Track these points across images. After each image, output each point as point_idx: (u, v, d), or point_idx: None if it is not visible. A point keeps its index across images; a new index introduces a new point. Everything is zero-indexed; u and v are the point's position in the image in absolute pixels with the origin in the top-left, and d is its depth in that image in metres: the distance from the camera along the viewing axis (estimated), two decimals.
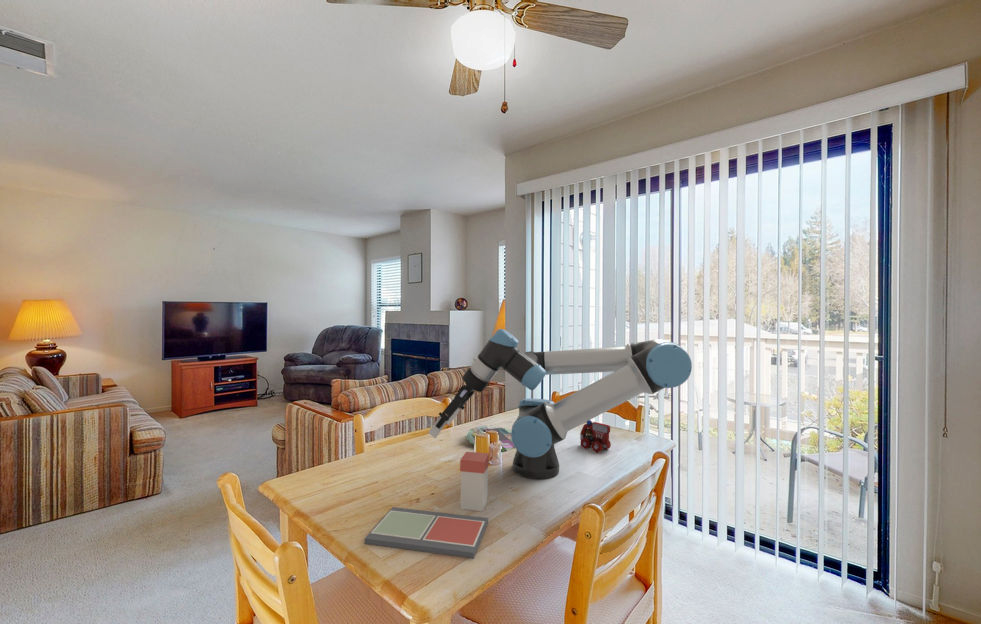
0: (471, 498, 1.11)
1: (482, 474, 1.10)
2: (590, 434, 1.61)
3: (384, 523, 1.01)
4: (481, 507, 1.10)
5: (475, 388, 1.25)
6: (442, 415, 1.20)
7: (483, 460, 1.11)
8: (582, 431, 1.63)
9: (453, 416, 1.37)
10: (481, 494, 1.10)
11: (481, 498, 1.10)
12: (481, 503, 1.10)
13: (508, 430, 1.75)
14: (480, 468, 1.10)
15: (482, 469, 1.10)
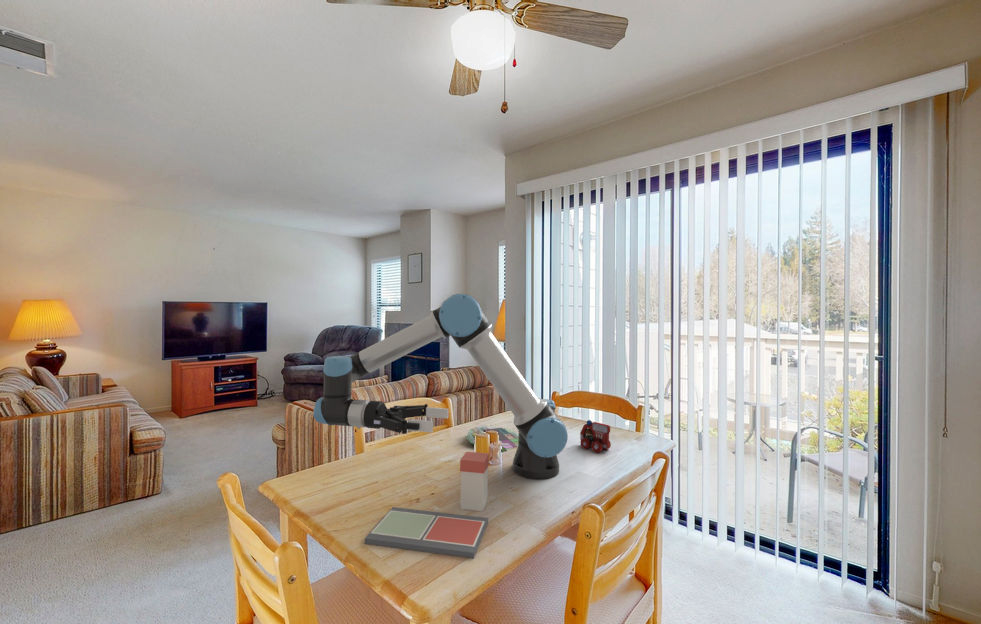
0: (471, 498, 1.11)
1: (482, 474, 1.10)
2: (590, 434, 1.61)
3: (384, 523, 1.01)
4: (481, 507, 1.10)
5: (373, 411, 1.16)
6: (398, 430, 1.07)
7: (483, 460, 1.11)
8: (582, 431, 1.63)
9: (436, 410, 1.22)
10: (481, 494, 1.10)
11: (481, 498, 1.10)
12: (481, 503, 1.10)
13: (508, 430, 1.75)
14: (480, 468, 1.10)
15: (482, 469, 1.10)
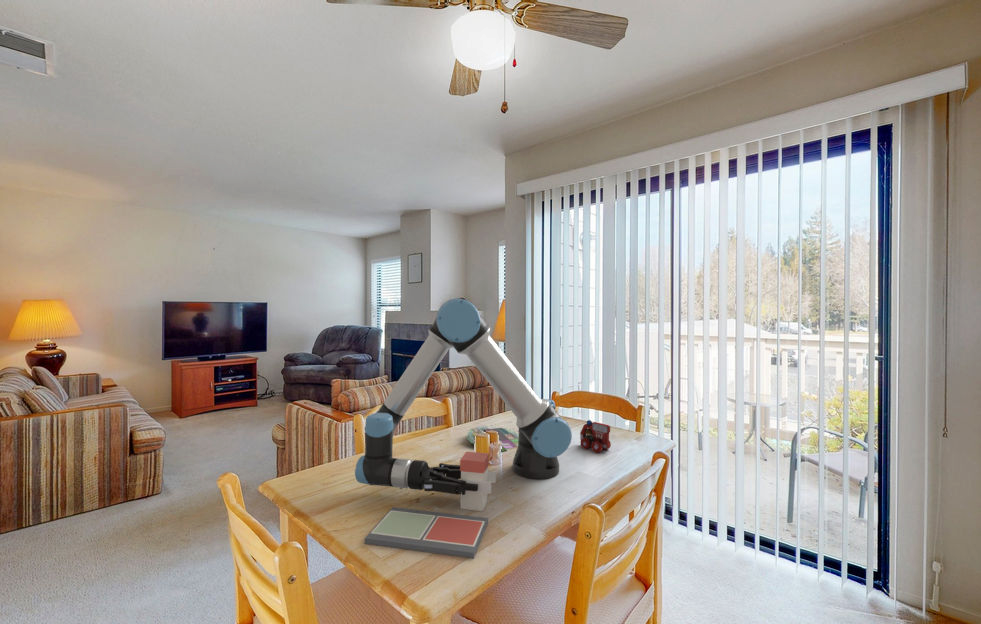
0: (471, 497, 1.11)
1: (482, 474, 1.10)
2: (590, 434, 1.61)
3: (384, 523, 1.01)
4: (481, 507, 1.10)
5: (417, 473, 1.13)
6: (458, 492, 1.08)
7: (483, 460, 1.11)
8: (582, 431, 1.63)
9: None
10: (481, 494, 1.10)
11: (481, 498, 1.10)
12: (481, 503, 1.10)
13: (508, 430, 1.75)
14: (480, 468, 1.10)
15: (482, 469, 1.10)
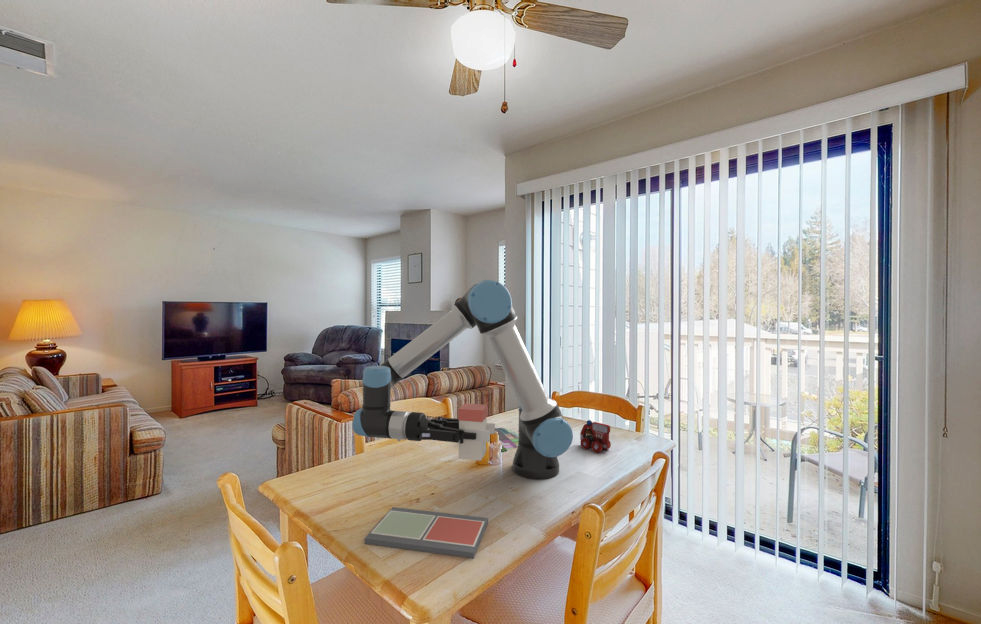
0: (469, 447, 1.10)
1: (480, 423, 1.09)
2: (590, 434, 1.61)
3: (384, 523, 1.01)
4: (479, 456, 1.09)
5: (415, 423, 1.12)
6: (456, 440, 1.07)
7: (481, 409, 1.10)
8: (582, 431, 1.63)
9: None
10: (479, 443, 1.09)
11: (479, 447, 1.09)
12: (479, 452, 1.09)
13: (509, 430, 1.75)
14: (478, 417, 1.09)
15: (481, 418, 1.09)
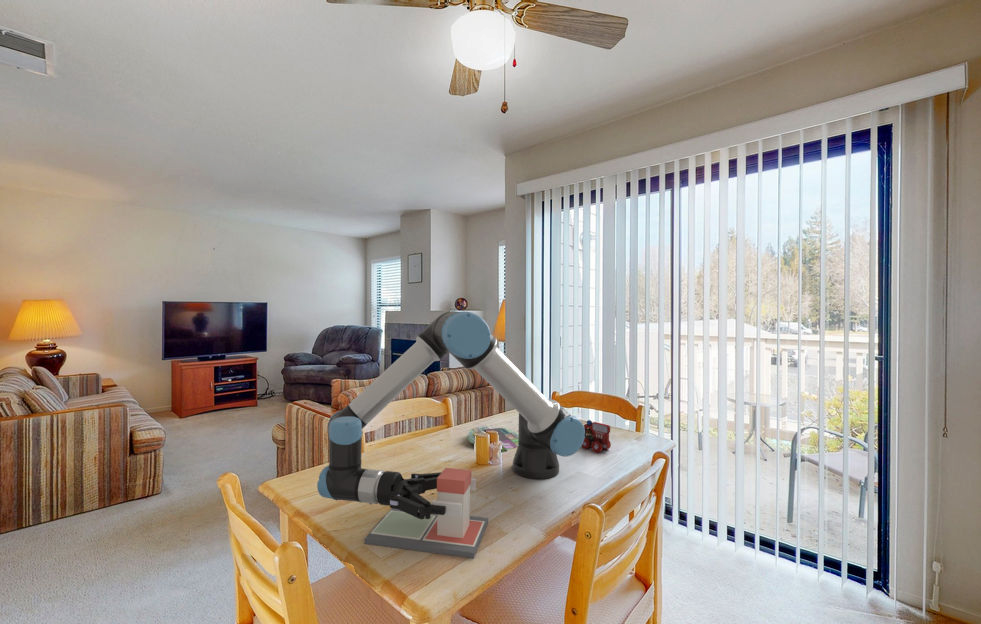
0: (450, 522, 0.95)
1: (462, 495, 0.95)
2: (590, 434, 1.61)
3: (384, 523, 1.01)
4: (461, 533, 0.95)
5: (388, 487, 0.98)
6: (420, 516, 0.89)
7: (463, 479, 0.95)
8: None
9: None
10: (461, 518, 0.95)
11: (461, 523, 0.95)
12: (461, 529, 0.95)
13: (509, 430, 1.75)
14: (460, 488, 0.95)
15: (463, 489, 0.95)
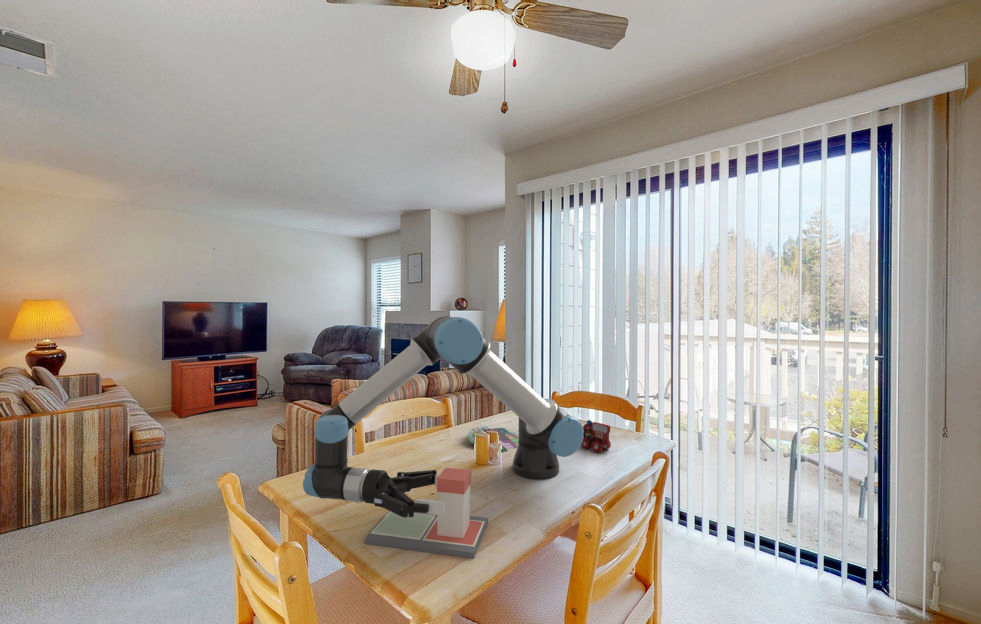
0: (450, 522, 0.95)
1: (462, 495, 0.95)
2: (590, 434, 1.61)
3: (384, 523, 1.01)
4: (461, 533, 0.95)
5: (373, 485, 0.98)
6: (403, 514, 0.90)
7: (463, 479, 0.95)
8: None
9: None
10: (461, 518, 0.95)
11: (461, 523, 0.95)
12: (461, 529, 0.95)
13: (509, 430, 1.75)
14: (460, 488, 0.95)
15: (463, 489, 0.95)
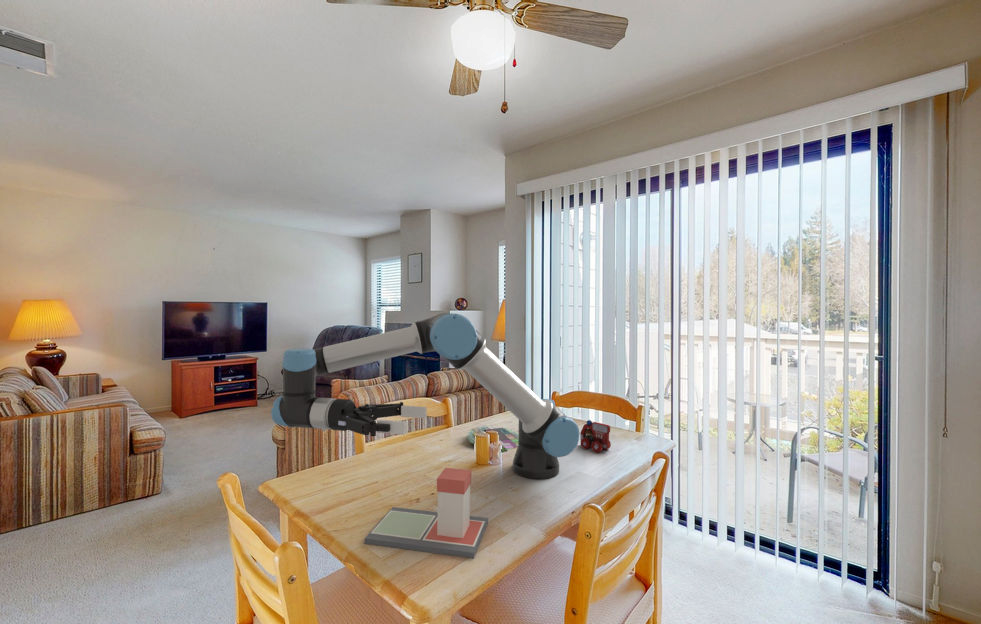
0: (450, 522, 0.95)
1: (462, 495, 0.95)
2: (590, 434, 1.61)
3: (384, 523, 1.01)
4: (461, 533, 0.95)
5: (339, 410, 1.01)
6: (364, 432, 0.92)
7: (463, 479, 0.95)
8: (582, 431, 1.63)
9: (412, 408, 1.08)
10: (461, 518, 0.95)
11: (461, 523, 0.95)
12: (461, 529, 0.95)
13: (509, 430, 1.75)
14: (460, 488, 0.95)
15: (463, 489, 0.95)
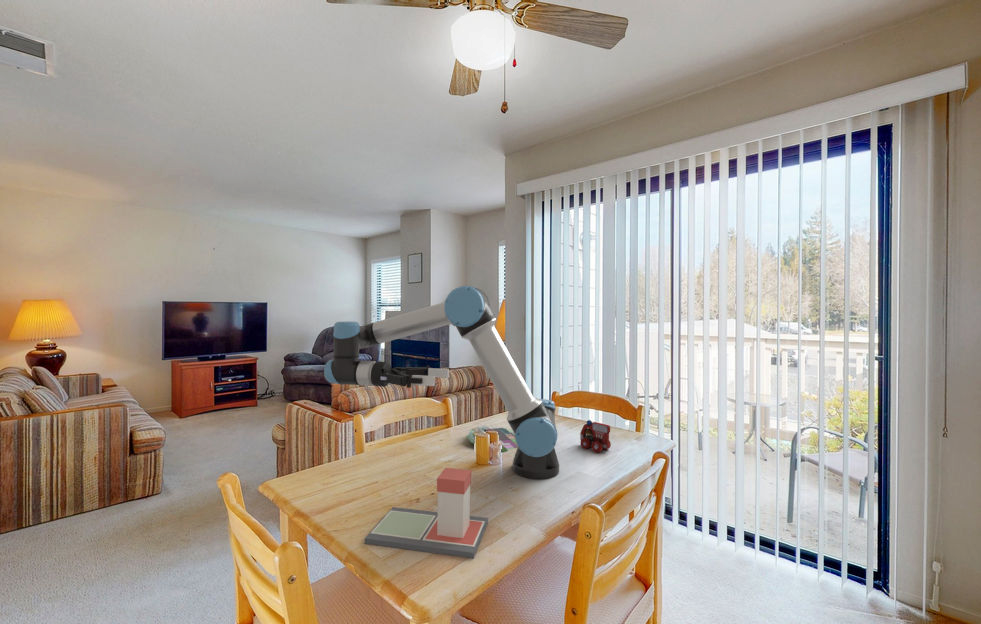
0: (450, 522, 0.95)
1: (462, 495, 0.95)
2: (590, 434, 1.61)
3: (384, 523, 1.01)
4: (461, 533, 0.95)
5: (380, 369, 1.26)
6: (402, 384, 1.17)
7: (463, 479, 0.95)
8: (582, 431, 1.63)
9: (437, 370, 1.33)
10: (461, 518, 0.95)
11: (461, 523, 0.95)
12: (461, 529, 0.95)
13: (509, 430, 1.75)
14: (460, 488, 0.95)
15: (463, 489, 0.95)
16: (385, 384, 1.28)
